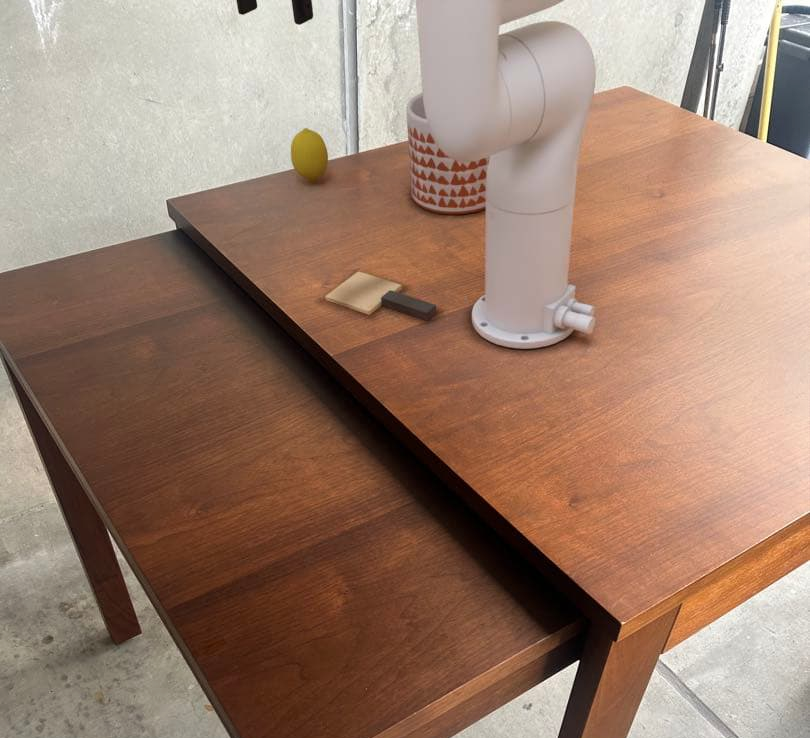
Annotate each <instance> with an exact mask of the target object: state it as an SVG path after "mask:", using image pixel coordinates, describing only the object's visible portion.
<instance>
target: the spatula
mask: <svg viewBox="0 0 810 738" xmlns="http://www.w3.org/2000/svg"><path fill="white" fill-rule="evenodd" d="M402 290H403V285H402V284H400V283H396V282H394V281H390V280H388V279H386V278H385V279H384V278H381V277H378V276H376V275H372V274H369V273H366V272H363V271H359V270H358V271H356V272H355V273H353V275H351V276H350V277H348V278H347V279H346V280H345V281H343V282H342V283H340V284H339V285H337V287H335V288H334V289H333V290H331V291H329V293H327V294H326V295H325V296H324V298H325V301H327V302H330V303H333V304H336V305H338V306H341V307H345V308H347V309H351V310H353V311H356V312H360V313H361V314H365V315H368V316H370V315H372V314H373V313H374V312H376V310H378V309H379V308H380V307H384V308H388V309H390V310H393V311H396V312H399V313H402V314H405V315H407V316H411V317H414V318H417V319H420V320H424V321H426V322H428V321H430V319H432V318H434V316H435V315H436V314H437V305H436V304H435V303H431V302H428V301H425V300H422V299H419V298H416V297H413V296H409V295H407V294H403V293H400V292H401V291H402Z"/></svg>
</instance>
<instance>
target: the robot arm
mask: <svg viewBox="0 0 810 738" xmlns="http://www.w3.org/2000/svg"><path fill="white" fill-rule="evenodd" d="M235 1H236V6H237V12H238V15H242V16H244V15H246V14H249V13H251V12H253V11H255V10H257V8H258V1H257V0H235ZM564 1H565V0H415V8H416V21H417V22H416V23H417V37H418V50H419V51H418V52H419V63H420V79H421V90H422V91H421V93H422V92H423V102H424V109H425V114H426V119H427V123H428V127H429V130H430V132H431V135H432V137H433V139H434V141H435V143H436V144H437V146H438V147H439V149H440V150H441V151H442V152H443V153H444V154H445V155H446V156H448V157H449V158H451V159H453V160H456V161H460V162H472V161H477V160H480V159H483V158H486V157H488V156H490V158H489V163H488V168H487V175H486V209H485V232H484V233H485V237H484V238H485V239H484V241H485V243H484V245H485V248H484V249H485V250H484V251H485V253H484V259H485V260H484V294H483V295H481V296H480V297H479V299H477V300H476V301H475V303H474V305H473V306H472V310H471V323H472V326H473V328H474V330H475V332H477V334H478V335H480V336H481V337H482V338H484V339H485V340H487V341H489V342H490V343H493V344H495V345H498V346H500V347H501V346H502V347H505V348H512V349H517V350H518V349H521V350H523V349H524V350H529V349H539V348H544V347H548V346H551V345H554V344H557V343H559V342H561V341H563V340H565V339H567V338H568V337H569V336H571V334H572V333H573V332H574V331H578V332H580V333H584V334H587V335H590V334H592V333H593V331H594V329H595V326H596V318H595V317H594V314H595V311H596V307H595V306H594V305H591V304H587V303H582V302H578V299H577V298H576V287H577V286H576V285H573V284H570V283H569V273H570V272H569V271H570V262H571V261H570V260H571V249H572V247H571V246H572V237H573V236H572V234H573V223H574V212H575V199H576V193H577V192H576V191H577V180H578V170H579V161H580V154H581V147H582V144H583V143H582V142H583V137H584V133H585V129H586V126H587V122H588V118H589V115H590V111H591V108H592V103H593V101H594V100H593V99H594V94H595V89H596V79H597V77H596V75H597V74H596V70H597V69H596V61H595V56H594V53H593V50H592V47H591V45H590V43H589V41H588V40H587V38H586V36H584V34H583V33H582V32H581V31H580V30H579V29H578V28H576V27H574V26H572V25H571V24H569V23H566V22H563V21H556V20H548V21H547V20H545V21H539V22H534V23H530V24H527V25H525V26H521V27H518V28H515V29H513V30H510V31H506V32H504V33H501V34H500V27H501V26H503V25H505V24H508V23H511V22H515V21H517V20H519V19H522V18H525V17H529V16H532V15H535V14H537V13H540V12H542V11H546V10H548V9H550V8H552V7H554V6H556V5H559V4H561V3H562V2H564ZM291 6H292V14H293V21H294V23H295V25H299V26H300V25H302V24H304V23H307V22H309V21H311V20H313V19H314V9H313V8H314V7H313V0H291Z"/></svg>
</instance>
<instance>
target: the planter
mask: <svg viewBox="0 0 810 738" xmlns="http://www.w3.org/2000/svg"><path fill="white" fill-rule="evenodd" d="M406 126H407V141H408V142H407V143H408V159H409V160H408V162H409V176H410V177H409V178H410V191H411V192H410V193H411V197H412V200H413V201H414V202H415V204H416V205H417V206H419V207H421V208H423V209H425V210H427V211H428V212H429V211H430V212H432V213H437V214H443V215H465V214H472V213H477V212H480V211H483V210H486V175H487V168H488V163H489V158H490V156H488V157H486V158H483V159H480V160H477V161H472V162H460V161H456V160H453V159H451V158H449V157H448V156H446V155H445V154H444V153H443V152H442V151H441V150H440V149H439V147H438V146H437V144H436V143H435V141H434V139H433V137H432V135H431V132H430V130H429V127H428V123H427V119H426V114H425V109H424V102H423V92H422V91H421V92H420V93H418V94H416V95H415V96H414V97H412V98H411V99H410V100H409V101H408V102H407V105H406Z"/></svg>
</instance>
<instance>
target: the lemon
mask: <svg viewBox="0 0 810 738" xmlns="http://www.w3.org/2000/svg"><path fill="white" fill-rule="evenodd" d="M290 159H291V160H290V161H291V164H292V167H293V169H294V170H295V172H296V174H297V175H298V176H299V177H301V178H302V179H305V180H308V181H309V182H310V183H316V181H317V179H319V178H320V177H322V176H323V175H324V174H325V172H326V171H327V168H328V163H329V154H328V149H327V145H326V143H325V141H324V139H323V137H322V136H321V134H319V133H318V132H316V131H314V130H312V129H309V128H308V127H306V128H302V130H301V131H299V132H298V133H296V134H295V135H294V137H293V138H292V141H291V145H290Z"/></svg>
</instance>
